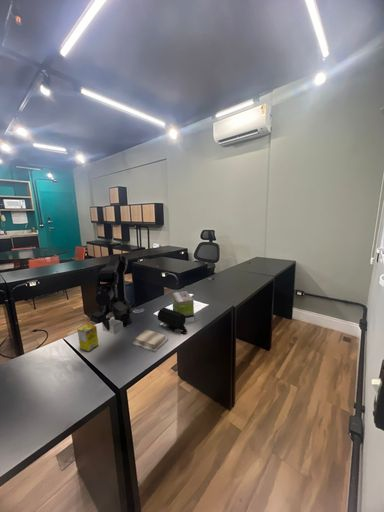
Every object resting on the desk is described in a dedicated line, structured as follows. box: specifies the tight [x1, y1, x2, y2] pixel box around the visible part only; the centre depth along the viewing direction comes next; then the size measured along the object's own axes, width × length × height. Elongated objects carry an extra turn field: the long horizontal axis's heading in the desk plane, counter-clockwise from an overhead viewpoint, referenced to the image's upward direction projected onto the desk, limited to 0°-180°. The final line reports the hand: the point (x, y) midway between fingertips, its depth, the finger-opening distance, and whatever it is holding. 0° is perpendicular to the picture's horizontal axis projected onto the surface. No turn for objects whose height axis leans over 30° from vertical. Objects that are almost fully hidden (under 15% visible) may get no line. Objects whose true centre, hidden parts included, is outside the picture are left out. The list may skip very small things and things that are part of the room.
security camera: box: [157, 307, 188, 335], centre depth 119 cm, size 7×18×10 cm, turn 53°
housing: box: [101, 317, 124, 336], centre depth 101 cm, size 8×5×4 cm, turn 62°
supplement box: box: [77, 323, 99, 353], centre depth 103 cm, size 6×6×11 cm
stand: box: [131, 329, 169, 353], centre depth 108 cm, size 14×11×3 cm
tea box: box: [171, 290, 195, 325], centre depth 130 cm, size 15×10×15 cm
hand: (112, 327), depth 101 cm, fingers closed on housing, 5 cm apart
